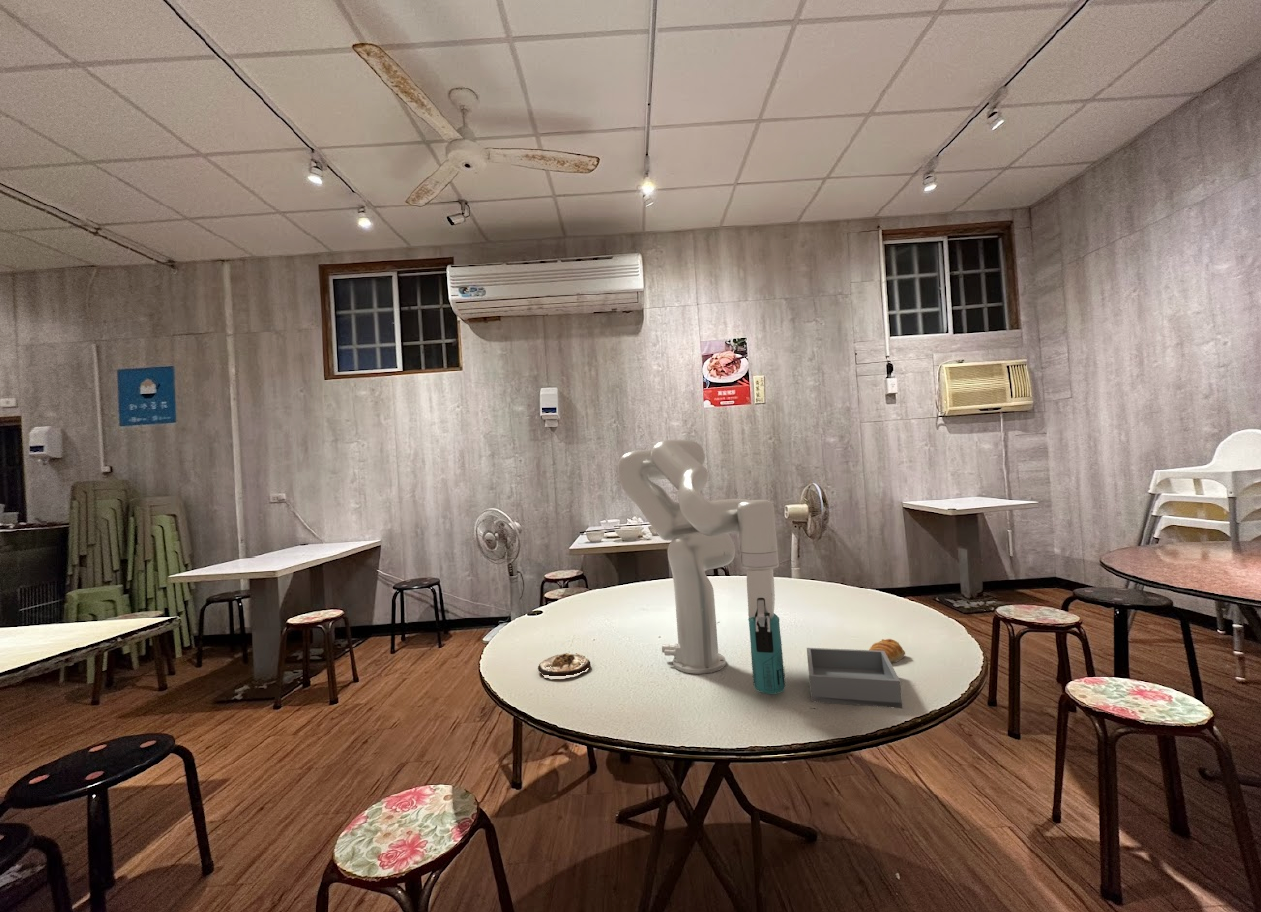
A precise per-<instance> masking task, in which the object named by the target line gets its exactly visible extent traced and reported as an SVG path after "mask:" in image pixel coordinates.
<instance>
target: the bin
mask: <svg viewBox="0 0 1261 912" xmlns="http://www.w3.org/2000/svg"><path fill="white" fill-rule="evenodd" d="M806 655H807V669H808V670H807V671H808V678H809V687H810V689H809V691H810V699H811V703H822V704H834V705H835V704H836V705H849V706H850V705H853V706H863V705H864V706H865V707H877V706H878V708H879V707H880V708H881V707H882V708H891V707H894V708H893V709H903V699H902V698H903V697H902V688H901V687H902V685H901V680H900V678H899V676H898V674H897V672H896V670H895V668H894V667H893V664H892V663H890V661H889V659H888V657H887V655H886V653H885V651H877V650H869V649H851V648H850V649H846V648H824V647H821V648H820V647H806Z"/></svg>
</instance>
